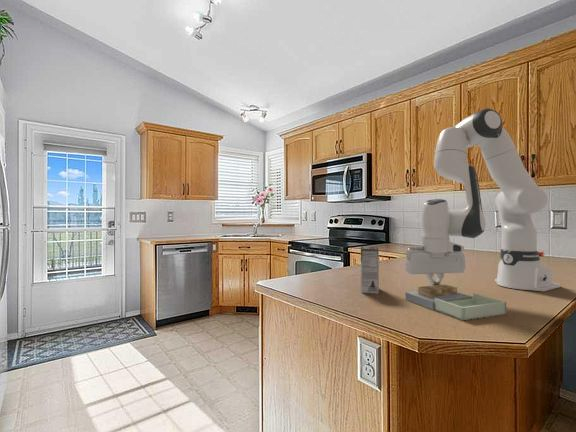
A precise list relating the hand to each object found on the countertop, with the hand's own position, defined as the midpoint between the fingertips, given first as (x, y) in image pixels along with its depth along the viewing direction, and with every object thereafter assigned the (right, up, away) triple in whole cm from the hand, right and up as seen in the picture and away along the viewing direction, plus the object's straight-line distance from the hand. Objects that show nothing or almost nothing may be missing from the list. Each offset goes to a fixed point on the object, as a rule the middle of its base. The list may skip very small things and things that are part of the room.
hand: (435, 286), depth 111 cm
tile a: (+1, -1, -4) cm, 5 cm away
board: (-2, -4, -6) cm, 8 cm away
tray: (+2, -4, -17) cm, 17 cm away
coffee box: (-20, -4, +9) cm, 23 cm away
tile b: (-5, -1, -6) cm, 8 cm away
